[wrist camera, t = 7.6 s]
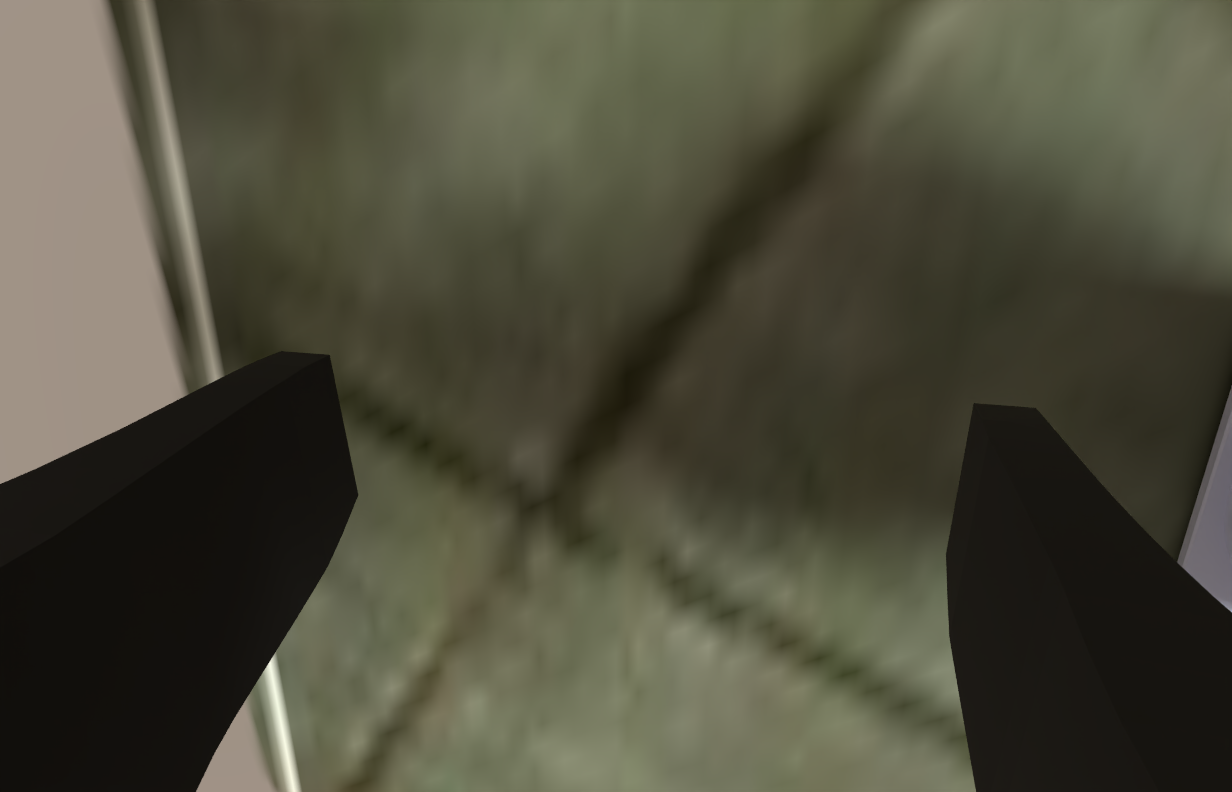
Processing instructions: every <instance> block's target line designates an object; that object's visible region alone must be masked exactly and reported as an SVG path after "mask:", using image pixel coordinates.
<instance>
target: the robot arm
mask: <svg viewBox="0 0 1232 792" xmlns="http://www.w3.org/2000/svg"><path fill="white" fill-rule="evenodd" d="M357 497H358V491H357V487H356V482H355V477H354V472H353V467H352V462H351V457H350V452H349V448H348V443H347V438H346V433H345V428H344V423H343V418H342V413H341V409H340V404H339V399H338V394H337V389H336V384H335V379H334V374H333V370H332V365H331V360H330V355H324V354H310V353H297V352H284V351H281V352H278V353H276V354H273V355H270V356H268V357H265V358H263V359H260V360H258V361H256V362H254V363H251V364H249V365H247V366H245V367H243V368H241V369H239V370H236V371H234V372H232V373H230V374H228V375H226V376H224V377H222V378H220V379H218V380H216V381H214V382H212V383H210V384H208V385H206V386H204V387H202V388H200V389H198V390H197V391H195V392H193V393H191V394H189V395H187V396H185V397H183V398H181V399H179V400H177V401H175V402H173V403H171V404H169V405H167V406H165V407H163V408H161V409H159V410H157V411H155V412H153V413H152V414H149V415H148V416H146V417H144V418H142V419H140V420H138V421H136V422H134V423H132V424H130V425H128V426H126V427H124V428H122V429H120V430H118V431H116V432H114V433H112V434H109V435H107V436H105V437H103V438H101V439H99V440H96V441H94V442H92V443H90V444H88V445H86V446H84V447H82V448H79V449H77V450H75V451H73V452H71V453H69V454H67V455H65V456H62V457H60V458H58V459H56V460H54V461H52V462H50V463H48V464H45V465H43V466H41V467H39V468H37V469H35V470H32V471H30V472H28V473H25V474H23V475H21V476H18V477H16V478H14V479H11V480H9V481H7V482H4V483H2V484H0V792H196V790H197V788H198V786H199V784H200V782H201V780H202V778H203V776H204V773H205V772H206V770H207V767H208V765H209V763H210V761H211V759H212V757H213V755H214V753H215V751H216V749H217V748H218V746H219V744H220V742H221V741H222V739H223V737H224V735H225V734H226V732H227V730H228V728H229V727H230V725H231V723H232V721H233V719H234V718H235V716H236V714H237V713H238V711H239V710H240V708H241V706H242V705H243V703H244V702H245V700H246V699H247V697H248V695H249V694H250V692H251V690H252V689H253V687H254V686H255V684H256V682H257V681H258V679H259V678H260V676H261V674H262V673H263V671H264V670H265V668H266V666H267V665H268V663H269V662H270V660H271V658H272V657H273V655H274V654H275V652H276V650H277V649H278V647H279V646H280V644H281V642H282V641H283V639H284V638H285V636H286V634H287V633H288V631H289V630H290V628H291V626H292V625H293V623H294V622H295V620H296V618H297V617H298V615H299V613H300V612H301V610H302V608H303V607H304V605H305V604H306V602H307V600H308V599H309V597H310V595H311V594H312V592H313V590H314V589H315V587H316V585H317V584H318V582H319V580H320V579H321V577H322V575H323V574H324V572H325V570H326V568H327V567H328V565H329V563H330V560H331V558H332V556H333V554H334V552H335V549H336V547H337V545H338V543H339V541H340V538H341V536H342V534H343V531H344V529H345V527H346V524H347V522H348V519H349V517H350V514H351V512H352V509H353V507H354V504H355V502H356V499H357ZM946 566H947V595H948V617H949V637H950V643H951V649H952V655H953V661H954V667H955V673H956V679H957V685H958V691H959V696H960V702H961V708H962V714H963V719H964V725H965V731H966V736H967V742H968V748H969V753H970V759H971V765H972V770H973V776H974V782H975V787H976V792H1232V387H1231V390H1230V393H1229V396H1228V400H1227V403H1226V406H1225V409H1224V412H1223V416H1222V419H1221V422H1220V425H1219V429H1218V432H1217V435H1216V438H1215V442H1214V445H1213V448H1212V451H1211V454H1210V458H1209V461H1208V464H1207V467H1206V471H1205V474H1204V477H1203V480H1202V484H1201V487H1200V490H1199V493H1198V496H1197V500H1196V503H1195V506H1194V509H1193V513H1192V516H1191V519H1190V522H1189V526H1188V529H1187V532H1186V535H1185V538H1184V542H1183V545H1182V548H1181V551H1180V555H1179V558H1178V561H1177V562H1176V561H1175V560H1174V559H1173V558H1172V557H1171V556H1170V555H1169V554H1168V553H1167V552H1166V551H1165V550H1164V549H1163V548H1162V547H1161V546H1160V545H1159V544H1158V543H1157V542H1156V541H1155V540H1154V539H1153V538H1152V537H1151V536H1150V535H1149V534H1148V533H1147V532H1146V531H1145V530H1144V529H1143V528H1142V527H1141V526H1140V525H1139V524H1138V523H1137V522H1136V521H1135V520H1134V519H1133V518H1132V517H1131V516H1130V515H1129V514H1128V512H1127V511H1126V510H1125V509H1124V508H1123V507H1122V506H1121V505H1120V504H1119V503H1118V502H1117V501H1116V500H1115V499H1114V497H1113V496H1112V495H1111V494H1110V493H1109V492H1108V491H1107V490H1106V489H1105V487H1104V486H1103V485H1102V484H1101V483H1100V482H1099V481H1098V480H1097V478H1096V477H1095V476H1094V475H1093V474H1092V473H1091V472H1090V470H1089V469H1088V468H1087V467H1086V466H1085V465H1084V464H1083V462H1082V461H1081V460H1080V459H1079V458H1078V457H1077V455H1076V454H1075V453H1074V452H1073V451H1072V450H1071V448H1070V447H1069V446H1068V445H1067V444H1066V443H1065V441H1064V440H1063V439H1062V438H1061V437H1060V436H1059V434H1058V433H1057V432H1056V431H1055V430H1054V429H1053V427H1052V426H1051V425H1050V424H1049V423H1048V422H1047V420H1046V419H1045V418H1044V417H1043V416H1042V415H1041V414H1040V412H1039V411H1038V410H1037V409H1036V408H1028V407H1015V406H1001V405H988V404H975V403H974V405H973V411H972V416H971V422H970V427H969V432H968V438H967V443H966V449H965V454H964V460H963V465H962V470H961V476H960V481H959V487H958V492H957V498H956V503H955V509H954V514H953V519H952V525H951V530H950V536H949V541H948V547H947V552H946Z"/></svg>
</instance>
